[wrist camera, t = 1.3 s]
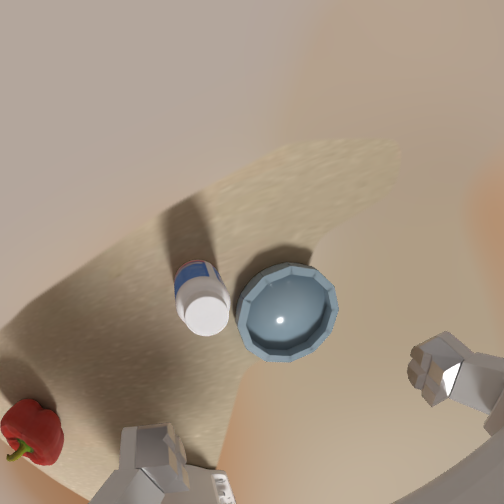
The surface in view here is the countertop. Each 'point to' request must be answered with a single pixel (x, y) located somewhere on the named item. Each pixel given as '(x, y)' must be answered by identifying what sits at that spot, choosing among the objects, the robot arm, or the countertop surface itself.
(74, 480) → the countertop surface
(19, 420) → the vegetable
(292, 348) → the dish
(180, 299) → the pill bottle
